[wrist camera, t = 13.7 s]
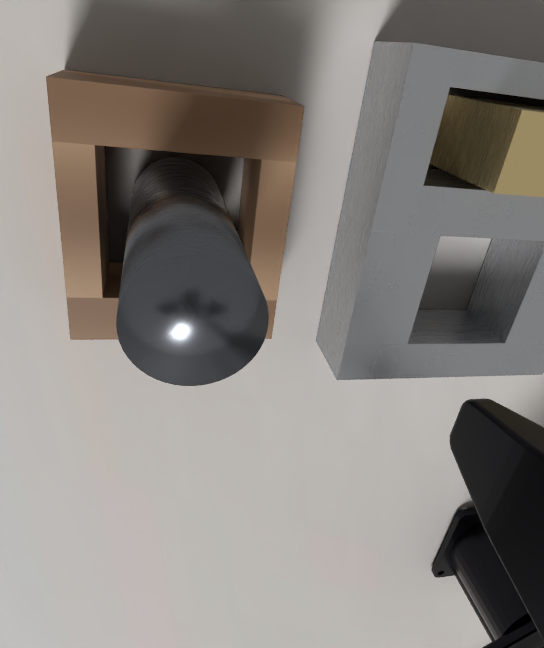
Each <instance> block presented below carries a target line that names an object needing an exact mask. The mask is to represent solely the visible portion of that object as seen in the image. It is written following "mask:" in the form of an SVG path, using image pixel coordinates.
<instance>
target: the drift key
mask: <svg viewBox="0 0 544 648" xmlns="http://www.w3.org/2000/svg"><path fill="white" fill-rule="evenodd" d="M429 164H431V165H434V166H436V167H438V168H440V169H442V170H444V171H446V172H449V173H451V174H453V175H455V176H457V177H459V178H461V179H464V180H466V181H468V182H470V183H472V184H474V185H477V186H479V187H481V188H483V189H485V190H487V191H489V192H492V193H494V194H507V195H520V196H533V197H544V107H540V106H532V105H524V104H517V103H509V102H501V101H494V100H486V99H478V98H471V97H463V96H455V95H448V97H447V100H446V104H445V108H444V111H443V115H442V119H441V122H440V126H439V130H438V134H437V137H436V141H435V145H434V148H433V152H432V156H431V159H430V163H429Z"/></svg>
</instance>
